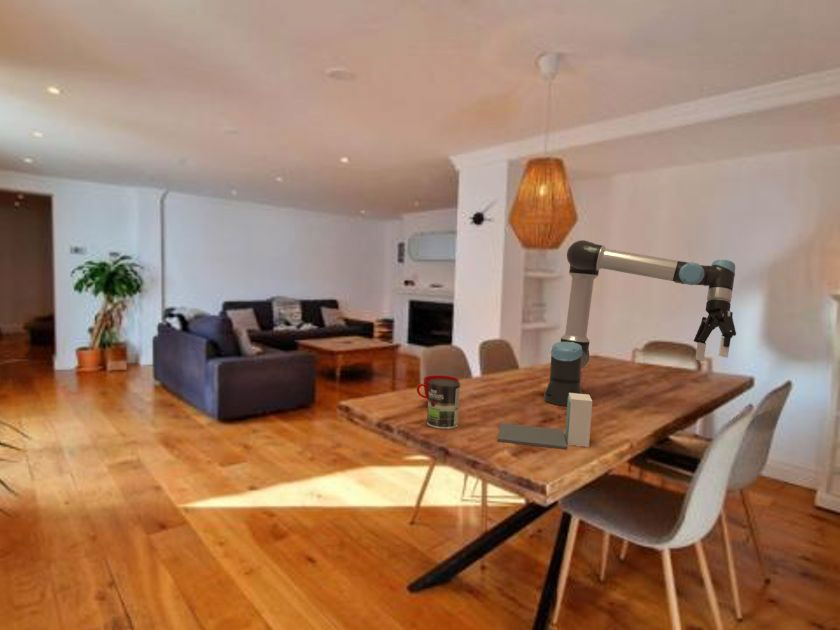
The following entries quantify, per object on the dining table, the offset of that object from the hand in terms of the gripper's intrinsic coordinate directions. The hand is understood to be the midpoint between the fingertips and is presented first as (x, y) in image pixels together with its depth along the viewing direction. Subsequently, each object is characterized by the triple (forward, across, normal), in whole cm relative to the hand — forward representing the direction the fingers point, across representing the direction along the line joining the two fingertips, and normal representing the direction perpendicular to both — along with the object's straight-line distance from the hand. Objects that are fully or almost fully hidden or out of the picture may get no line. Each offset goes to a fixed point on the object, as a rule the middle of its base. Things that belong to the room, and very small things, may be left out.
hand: (710, 358), depth 172 cm
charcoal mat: (+42, -14, +60) cm, 75 cm away
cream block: (+40, -18, +47) cm, 65 cm away
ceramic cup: (+40, +15, +90) cm, 100 cm away
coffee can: (+46, -6, +88) cm, 99 cm away
